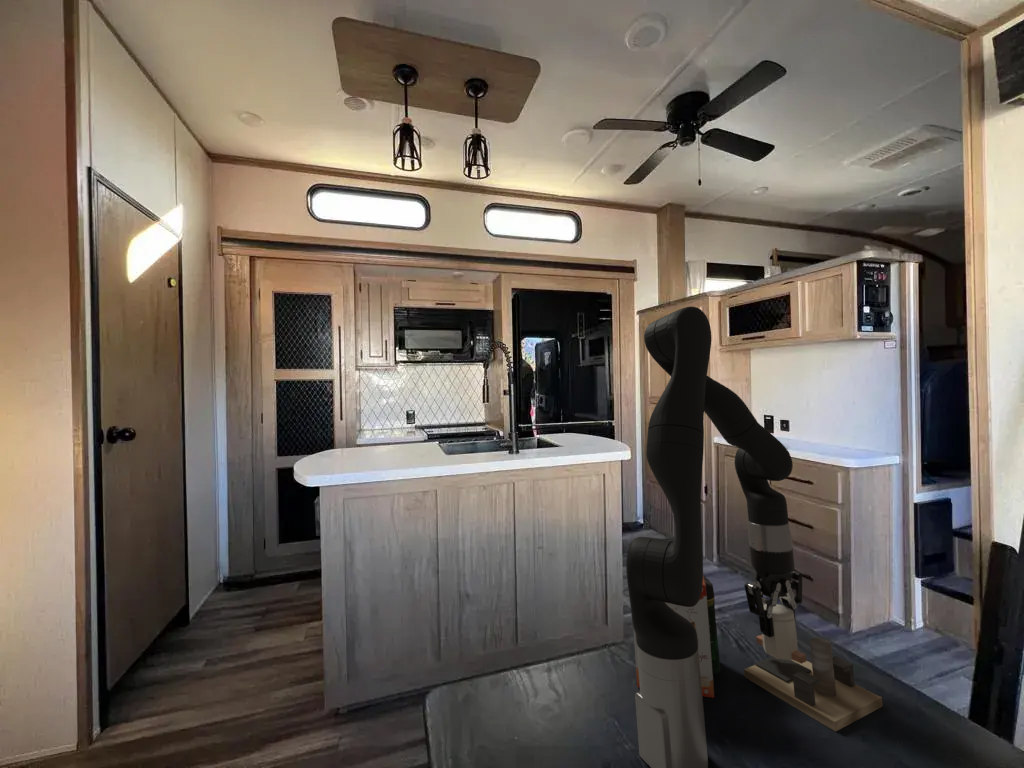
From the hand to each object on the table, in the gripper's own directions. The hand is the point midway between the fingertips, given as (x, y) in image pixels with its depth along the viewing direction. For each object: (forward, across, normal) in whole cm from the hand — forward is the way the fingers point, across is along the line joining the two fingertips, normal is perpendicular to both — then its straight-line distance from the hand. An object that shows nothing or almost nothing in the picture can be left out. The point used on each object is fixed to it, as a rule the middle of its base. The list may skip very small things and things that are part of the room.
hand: (778, 630), depth 88 cm
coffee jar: (+9, +11, -11) cm, 18 cm away
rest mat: (+7, 0, 0) cm, 7 cm away
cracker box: (+9, +20, -8) cm, 23 cm away
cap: (+4, 0, 0) cm, 4 cm away
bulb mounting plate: (+9, 0, +5) cm, 10 cm away
